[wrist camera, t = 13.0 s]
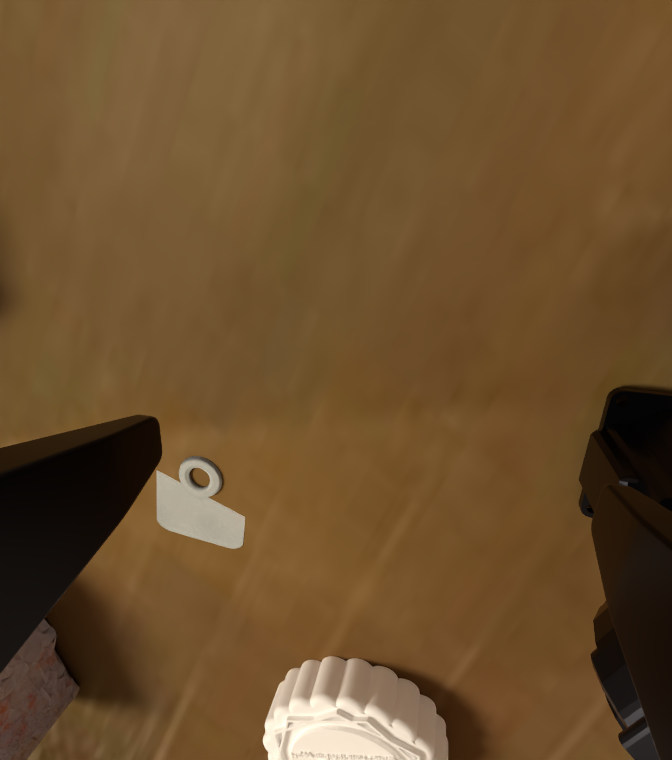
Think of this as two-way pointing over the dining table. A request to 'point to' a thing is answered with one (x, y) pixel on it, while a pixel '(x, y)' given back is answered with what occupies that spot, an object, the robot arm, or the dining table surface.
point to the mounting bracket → (197, 506)
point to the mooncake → (352, 715)
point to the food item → (32, 694)
